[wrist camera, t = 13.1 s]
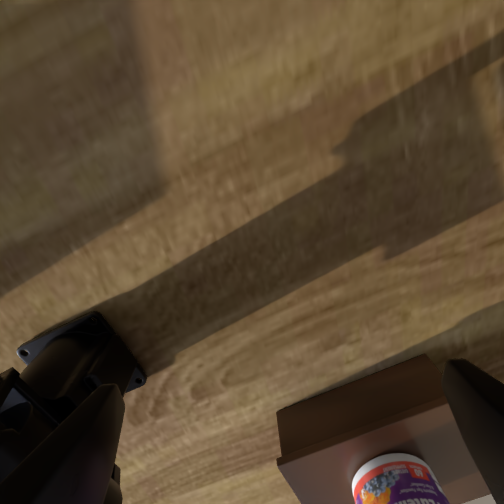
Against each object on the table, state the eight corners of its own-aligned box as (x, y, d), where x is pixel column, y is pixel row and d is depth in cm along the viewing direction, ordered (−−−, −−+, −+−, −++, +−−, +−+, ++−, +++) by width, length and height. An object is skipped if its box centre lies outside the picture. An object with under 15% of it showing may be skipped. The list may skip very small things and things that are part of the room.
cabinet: (319, 490, 30) (332, 552, 25) (270, 410, 26) (276, 466, 22) (460, 440, 28) (500, 498, 24) (428, 348, 25) (467, 396, 20)
